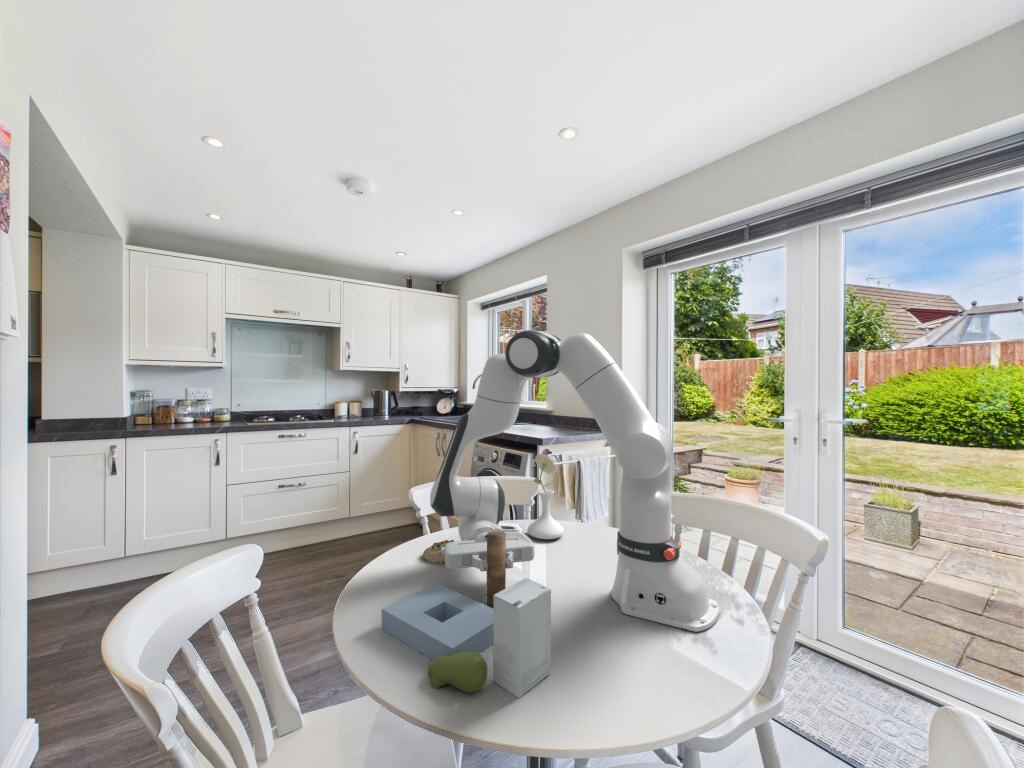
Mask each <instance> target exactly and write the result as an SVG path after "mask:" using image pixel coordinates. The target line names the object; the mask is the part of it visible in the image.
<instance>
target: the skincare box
mask: <svg viewBox="0 0 1024 768" xmlns="http://www.w3.org/2000/svg"><path fill="white" fill-rule="evenodd" d="M551 616H552V589H551V588H550V587H548V586H545V585H544V584H541V583H538V582H537V581H534V580H532V579H530V578H527V577H525V578H523V579H521V580H519V581H516V583H513V584H512V585H510V586H507V587H506V589H504V590H502V591H500V592H498V593H496V594H494V644H493V651H492V652H493V653H492V654H493V664H492V665H493V669H492V672H493V673H492V675H493V676H492V677H493V682H494V683H496V684H497V685H498V686H500V687H501V688H503V689H504V690H506V691H507V692H508V693H510V694H511V695H513V696H514V697H515V698H518V699H519V698H521V697H522V696H524V695H525V694H526V693H528V691H530V690H531V689H532V688H534V687H535V686H536V685H538V683H540V682H541V681H542V680H544V678H546V677H548V676H549V675H550V674H551V655H552V654H551V653H552V652H551V643H552V642H551V639H552V638H551V637H552V635H551V634H552V632H551V631H552V628H551V627H552V623H551V622H552V617H551Z"/></svg>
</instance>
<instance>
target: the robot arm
mask: <svg viewBox="0 0 1024 768" xmlns="http://www.w3.org/2000/svg"><path fill="white" fill-rule="evenodd" d="M559 373H561V374H562V375H563V376H565V378H566V379H567V380H568V381H569V382H570V384H571V386H572V388H573V389H574V390H575V392H576V393H577V395H578V396H579V398H580V399H581V400H582V402H583V403H584V404H585V406H586V408H587V409H588V411H589V412H590V413H591V415H592V417H593V418H594V419H595V421H596V423H597V425H598V427H599V429H600V431H601V433H602V435H603V437H604V438H605V441H606V442H607V444H608V447H609V448H610V449H611V451H612V453H613V454H614V456H615V458H616V459H617V462H618V463H619V466H620V468H621V469H622V470H621V482H620V494H619V520H618V521H619V524H618V525H619V527H618V528H619V530H618V531H617V533H616V534H617V538H616V554H617V565H616V571H615V572H616V573H615V577H614V582H613V585H612V588H611V590H610V594H611V598H612V599H613V600H614V602H616V603H617V604H618V606H619V608H620V611H621V612H622V614H625V615H628V616H632V617H635V618H639V619H643V620H644V619H645V620H647V621H652V622H655V623H656V622H657V623H659V624H664V625H667V626H670V627H675V628H678V629H682V628H683V630H686V629H687V631H690V632H691V631H692V632H701V631H705V630H708V629H709V628H711V627H712V626H713V625H715V623H716V622H717V621H718V619H719V618H720V614H721V611H720V610H721V609H720V605H719V603H718V601H716V600H714V599H712V598H710V597H709V592H708V588H707V587H708V586H707V583H706V581H705V579H704V578H703V576H702V575H701V574H700V573H698V572H697V571H696V570H695V569H694V568H693V567H692V566H691V565H690V564H689V563H687V562H686V560H685V559H684V558H682V556H680V549H681V548H682V545H683V544H682V541H679V542H676V540H675V539H674V537H673V536H672V489H673V487H672V486H673V482H672V481H673V454H674V453H673V450H674V448H673V445H674V444H673V443H674V442H673V438H672V436H671V433H670V432H669V431H668V430H667V429H666V428H665V426H663V425H662V424H661V423H658V422H656V421H655V420H654V418H653V417H652V415H651V414H650V411H649V410H648V409H647V407H646V406H645V404H644V402H643V400H642V399H641V398H640V396H639V394H638V392H637V390H636V389H635V388H634V386H633V384H631V382H630V381H629V379H628V378H627V376H626V375H625V374H624V373H623V371H622V370H621V368H620V366H618V364H617V362H616V361H615V359H613V357H612V356H611V355H610V354H609V352H608V351H607V350H606V348H604V347H603V346H602V345H601V343H600V342H599V341H597V340H596V339H595V338H594V337H593V336H592V335H591V334H589V333H587V332H577V333H573V334H571V335H569V336H568V337H566V338H565V339H563V340H561V339H560V337H558V336H556V335H552V334H549V333H548V332H545V331H539V330H533V329H532V330H523V331H520V332H517V333H516V334H514V335H512V337H511V338H510V339H509V341H508V342H507V344H506V347H505V353H497V354H492V355H491V356H490V357H488V359H487V360H486V362H485V365H484V367H483V369H482V373H481V376H480V380H479V384H478V387H477V392H476V393H477V394H476V398H475V401H474V403H473V406H471V408H470V409H469V411H467V412H466V413H464V414H462V415H460V417H459V418H458V420H457V423H456V425H455V427H454V430H453V432H452V435H451V437H450V440H449V443H448V446H447V449H446V452H445V455H444V457H443V461H442V463H441V466H440V469H439V471H438V473H437V476H436V478H435V479H434V480H435V481H434V482H433V484H432V487H431V490H430V494H429V503H430V507H431V508H432V509H433V511H435V513H436V514H437V515H439V517H442V518H443V517H455V516H457V517H459V518H458V522H457V523H458V524H457V528H458V529H457V530H458V535H459V538H460V540H458V541H456V540H454V542H450V543H447V544H446V546H445V547H442V548H441V553H442V554H443V555H445V564H444V566H445V568H446V569H448V570H458V569H468V568H475V569H478V570H480V572H481V573H482V572H487V571H488V562H487V533H489V532H492V531H501V532H504V533H506V570H508V569H513V568H514V563H522V562H532V561H533V560H534V559H535V556H536V555H535V551H536V549H535V544H534V542H533V541H532V539H530V538H529V537H528V535H526V534H525V533H522V532H520V528H519V527H518V526H511V525H509V526H508V525H500V524H499V523H500V521H501V520H502V519H503V516H504V513H505V508H506V507H505V506H506V497H505V496H506V495H505V492H504V489H503V487H502V486H501V484H500V483H499V481H498V480H496V479H493V478H492V479H491V478H484V477H483V478H482V477H468V476H459V475H458V472H459V471H460V467H461V464H462V462H463V459H464V456H465V453H466V451H467V449H468V447H469V446H470V445H471V444H473V443H474V442H476V441H479V440H481V439H484V438H488V437H492V436H495V435H499V434H501V433H503V432H505V431H507V430H509V429H510V428H511V427H512V426H513V425H514V424H515V423H516V420H517V418H518V416H519V412H520V406H521V401H522V396H523V395H522V394H523V389H524V387H525V384H526V383H527V381H528V380H530V379H537V378H538V379H539V378H540V379H541V378H547V377H548V378H549V377H552V376H555V375H557V374H559Z"/></svg>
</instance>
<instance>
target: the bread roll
mask: <svg viewBox="0 0 1024 768" xmlns="http://www.w3.org/2000/svg"><path fill="white" fill-rule="evenodd" d="M450 542H455V540H454V539H451V540H448V539H445V540H441V541H438V542H434V543H433V544H432V545H431V546H429V547H426V549H424V551H423V553H422V558H423V560H424V561H425V563H430V564H435V565H436V564H437V565H445V555H443V554H442V553H441V548H442V547H445V546H446V544H447V543H450Z"/></svg>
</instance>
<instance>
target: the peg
mask: <svg viewBox="0 0 1024 768" xmlns="http://www.w3.org/2000/svg"><path fill="white" fill-rule="evenodd" d="M487 562H488V571H486V606H488V607H491V608H493V609H494V594H496V593H498V592H500V591H502V590H504V589H506V588H507V587H506V583H507V582H506V581H507V580H506V578H507V577H506V576H507V575H506V574H507V573H506V571H507V569H506V533H504V532H501V531H492V532H489V533H487Z"/></svg>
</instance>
